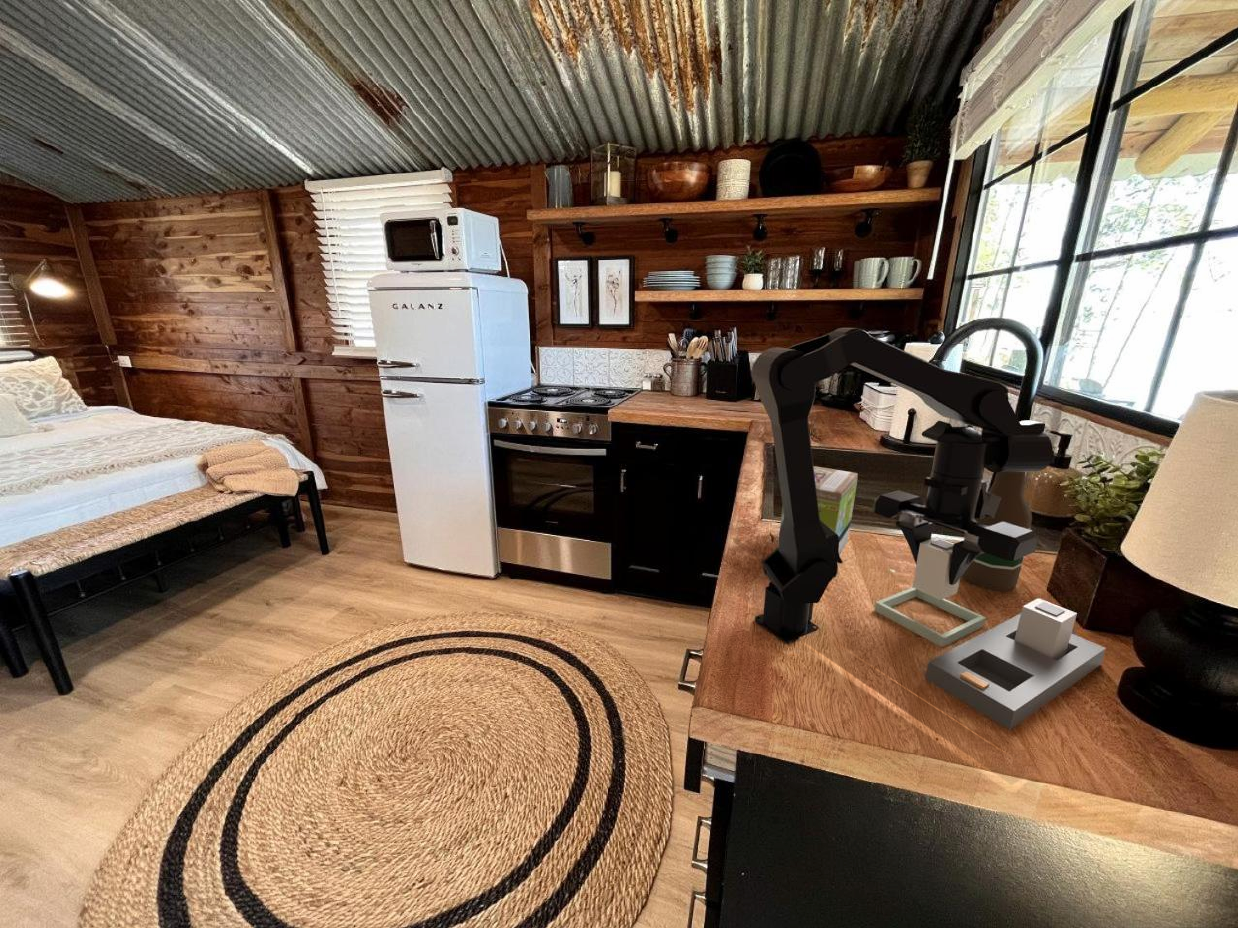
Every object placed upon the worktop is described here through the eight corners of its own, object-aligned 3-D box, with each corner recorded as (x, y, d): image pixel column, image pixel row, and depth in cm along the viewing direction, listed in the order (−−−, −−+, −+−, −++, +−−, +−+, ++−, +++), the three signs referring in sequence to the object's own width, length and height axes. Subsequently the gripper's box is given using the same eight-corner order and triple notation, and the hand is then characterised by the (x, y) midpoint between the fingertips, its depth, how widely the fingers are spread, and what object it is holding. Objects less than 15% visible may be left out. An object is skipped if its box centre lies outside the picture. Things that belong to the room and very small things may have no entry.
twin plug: (1047, 671, 61) (1062, 620, 59) (1011, 653, 65) (1023, 604, 63) (1063, 661, 63) (1077, 611, 61) (1026, 644, 67) (1038, 596, 65)
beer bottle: (1015, 580, 84) (1048, 442, 78) (1015, 600, 78) (1051, 452, 72) (960, 567, 89) (987, 436, 82) (957, 585, 83) (985, 445, 76)
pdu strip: (1008, 734, 53) (1014, 708, 52) (924, 682, 61) (928, 659, 60) (1109, 660, 64) (1116, 638, 63) (1028, 625, 72) (1033, 604, 71)
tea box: (831, 571, 88) (842, 492, 84) (775, 556, 93) (782, 481, 89) (849, 541, 99) (859, 470, 95) (798, 530, 105) (805, 462, 101)
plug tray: (941, 651, 66) (944, 637, 66) (873, 613, 75) (875, 602, 74) (982, 629, 71) (985, 617, 70) (914, 596, 79) (916, 585, 79)
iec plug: (940, 600, 69) (949, 552, 67) (912, 587, 72) (920, 541, 70) (956, 592, 71) (966, 546, 69) (928, 580, 74) (937, 536, 72)
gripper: (1071, 482, 62) (1043, 593, 67) (924, 450, 78) (908, 541, 82) (1026, 496, 57) (998, 615, 61) (878, 459, 73) (864, 555, 77)
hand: (936, 577), depth 71 cm, fingers closed on iec plug, 4 cm apart
